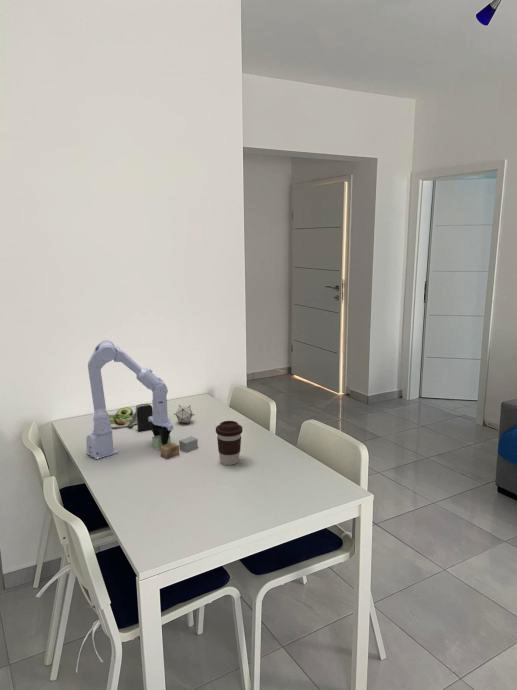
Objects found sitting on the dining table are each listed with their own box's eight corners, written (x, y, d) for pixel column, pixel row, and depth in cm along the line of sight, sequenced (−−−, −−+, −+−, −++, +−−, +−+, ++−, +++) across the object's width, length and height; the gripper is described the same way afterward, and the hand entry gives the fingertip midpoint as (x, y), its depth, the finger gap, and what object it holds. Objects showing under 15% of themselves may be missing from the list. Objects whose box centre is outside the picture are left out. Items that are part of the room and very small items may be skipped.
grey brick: (185, 452, 206) (185, 443, 206) (179, 449, 209) (179, 440, 208) (197, 448, 211) (197, 439, 210) (191, 445, 213) (191, 436, 213)
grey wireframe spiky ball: (180, 430, 239) (170, 411, 240) (197, 421, 241) (186, 402, 243) (181, 427, 230) (170, 407, 232) (198, 418, 233) (188, 398, 235)
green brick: (158, 449, 209) (157, 439, 208) (152, 446, 212) (152, 437, 211) (170, 445, 213) (170, 435, 213) (164, 442, 216) (164, 433, 215)
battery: (151, 426, 233) (150, 402, 231) (153, 429, 230) (152, 404, 227) (135, 429, 230) (134, 404, 228) (137, 432, 227) (136, 406, 224)
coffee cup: (239, 468, 193) (238, 429, 190) (213, 465, 195) (212, 427, 192) (245, 456, 203) (245, 419, 199) (220, 454, 204) (219, 418, 201)
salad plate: (148, 426, 234) (148, 416, 233) (108, 433, 226) (107, 423, 225) (137, 413, 251) (136, 404, 250) (98, 419, 243) (98, 410, 242)
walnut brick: (166, 459, 200) (166, 449, 199) (160, 456, 203) (160, 446, 202) (179, 455, 204) (179, 445, 204) (173, 452, 207) (173, 442, 206)
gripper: (179, 412, 207) (180, 444, 210) (158, 403, 217) (159, 434, 220) (164, 416, 202) (165, 449, 205) (143, 407, 212) (145, 439, 215)
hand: (161, 442), depth 212 cm, fingers closed on green brick, 4 cm apart
